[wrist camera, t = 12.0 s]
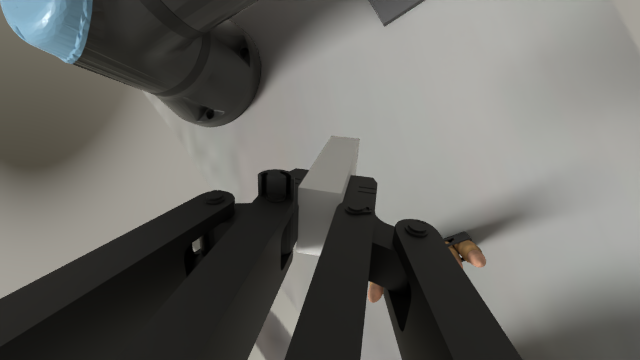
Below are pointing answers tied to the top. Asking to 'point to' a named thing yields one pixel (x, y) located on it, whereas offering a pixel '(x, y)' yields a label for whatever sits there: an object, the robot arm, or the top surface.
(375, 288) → the ammunition clip
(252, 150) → the top surface
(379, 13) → the desk pad
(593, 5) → the top surface
